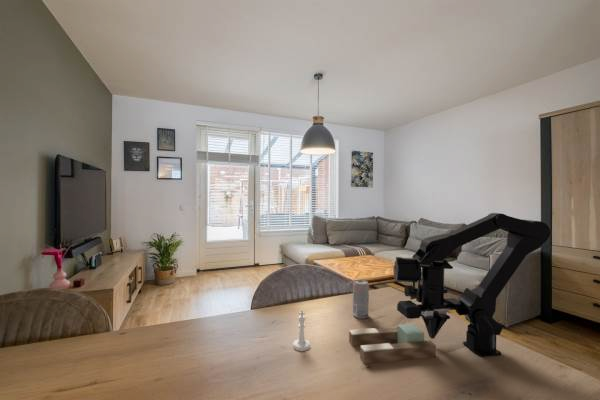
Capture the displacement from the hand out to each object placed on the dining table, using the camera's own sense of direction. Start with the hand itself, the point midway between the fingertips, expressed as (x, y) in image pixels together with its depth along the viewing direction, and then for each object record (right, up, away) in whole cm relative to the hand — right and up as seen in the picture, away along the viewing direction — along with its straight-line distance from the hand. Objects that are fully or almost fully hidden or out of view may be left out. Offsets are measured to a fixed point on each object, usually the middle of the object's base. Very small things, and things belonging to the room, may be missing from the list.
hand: (431, 337), depth 75 cm
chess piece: (-37, -2, -1) cm, 37 cm away
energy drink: (-16, -2, +19) cm, 25 cm away
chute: (-12, -2, -2) cm, 13 cm away
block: (-7, -2, -1) cm, 7 cm away
